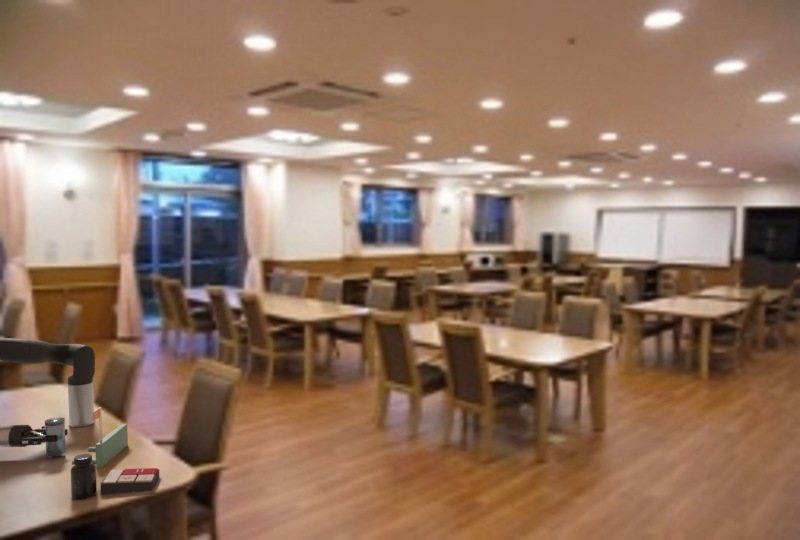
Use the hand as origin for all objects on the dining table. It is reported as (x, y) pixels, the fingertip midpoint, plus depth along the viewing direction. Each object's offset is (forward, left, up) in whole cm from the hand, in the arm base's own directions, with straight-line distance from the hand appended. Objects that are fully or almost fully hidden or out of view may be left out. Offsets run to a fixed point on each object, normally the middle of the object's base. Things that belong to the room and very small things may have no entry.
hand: (62, 435), depth 215 cm
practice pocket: (+1, +12, -8) cm, 15 cm away
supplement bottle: (+33, +22, -8) cm, 41 cm away
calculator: (+26, +33, -8) cm, 44 cm away
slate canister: (0, -2, -6) cm, 7 cm away
